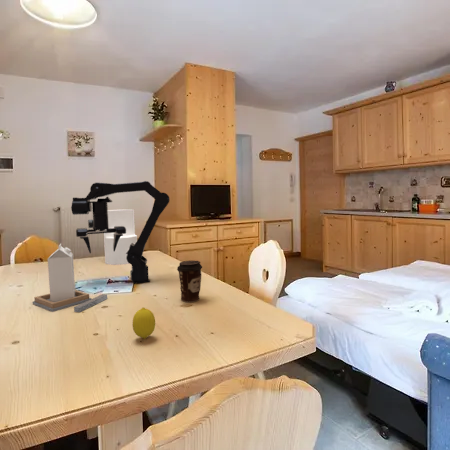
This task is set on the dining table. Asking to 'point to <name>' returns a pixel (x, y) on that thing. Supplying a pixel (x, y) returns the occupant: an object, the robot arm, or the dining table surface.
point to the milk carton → (61, 275)
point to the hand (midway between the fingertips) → (102, 252)
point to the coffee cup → (190, 280)
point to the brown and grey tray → (54, 306)
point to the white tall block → (125, 241)
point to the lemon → (143, 323)
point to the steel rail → (90, 303)
